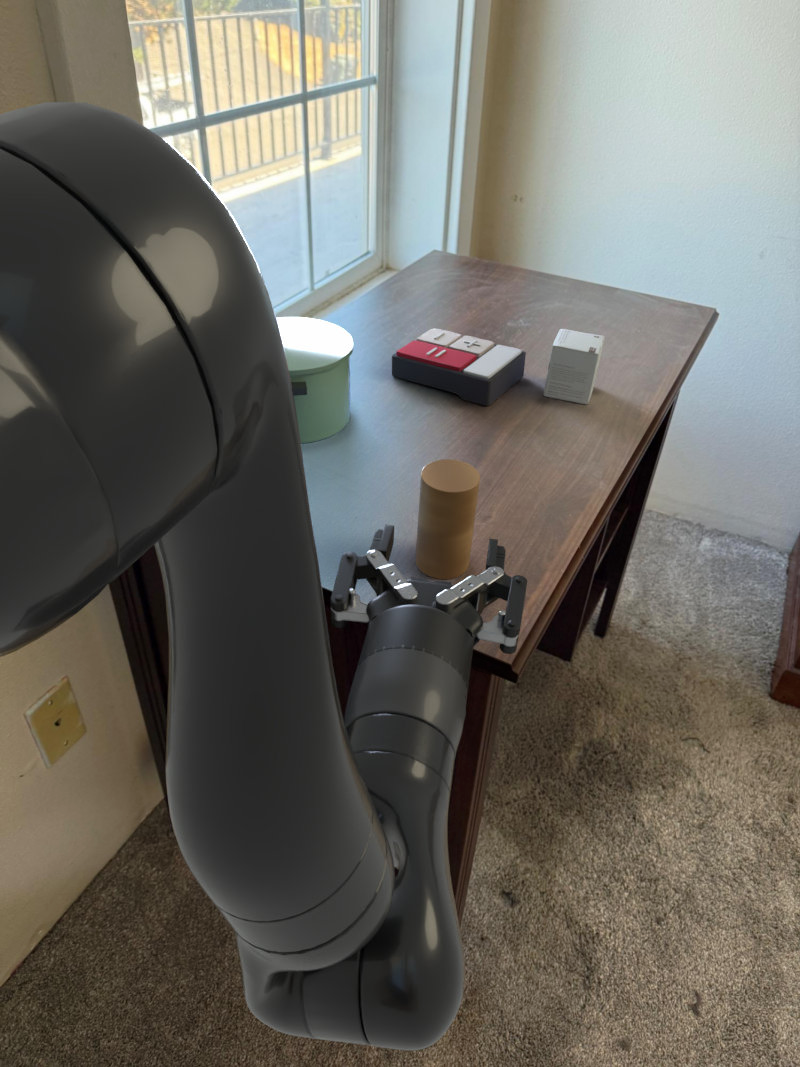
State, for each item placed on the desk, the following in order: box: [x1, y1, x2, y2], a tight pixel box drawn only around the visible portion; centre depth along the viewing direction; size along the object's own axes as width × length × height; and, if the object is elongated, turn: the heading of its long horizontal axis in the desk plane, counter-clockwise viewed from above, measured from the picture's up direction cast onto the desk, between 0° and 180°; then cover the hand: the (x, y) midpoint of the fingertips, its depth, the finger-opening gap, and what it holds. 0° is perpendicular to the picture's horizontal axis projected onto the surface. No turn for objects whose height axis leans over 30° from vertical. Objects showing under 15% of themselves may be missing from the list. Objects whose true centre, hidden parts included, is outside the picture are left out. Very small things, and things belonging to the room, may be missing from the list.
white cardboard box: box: [543, 328, 605, 405], centre depth 98 cm, size 6×6×7 cm
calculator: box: [391, 327, 527, 407], centre depth 101 cm, size 11×4×15 cm
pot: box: [276, 316, 355, 444], centre depth 90 cm, size 15×17×10 cm
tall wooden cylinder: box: [414, 458, 481, 580], centre depth 69 cm, size 5×5×10 cm
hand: (440, 539), depth 61 cm, fingers open, 8 cm apart
